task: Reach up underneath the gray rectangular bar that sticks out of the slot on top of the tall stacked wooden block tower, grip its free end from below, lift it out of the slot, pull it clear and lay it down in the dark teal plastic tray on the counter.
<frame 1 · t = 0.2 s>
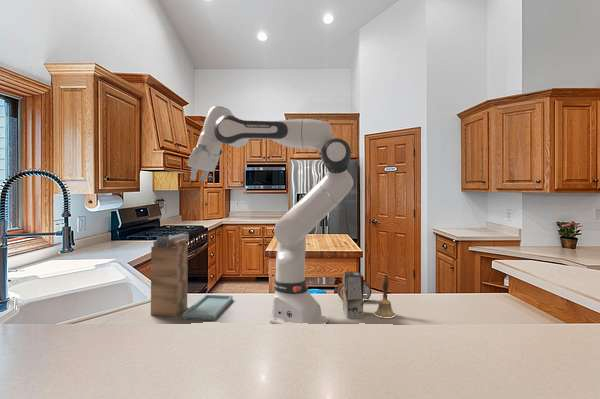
hand: (197, 180, 133), 52 cm above the countertop, tool tilted 20°, fingers open, 8 cm apart
hand bell: (384, 315, 134), on the countertop
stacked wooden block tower: (169, 311, 134), on the countertop
gray rectangular bar: (174, 244, 137), point 26 cm above the countertop, touching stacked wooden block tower
tray: (209, 308, 137), on the countertop
tin: (354, 301, 151), on the countertop
coffee box: (352, 315, 134), on the countertop
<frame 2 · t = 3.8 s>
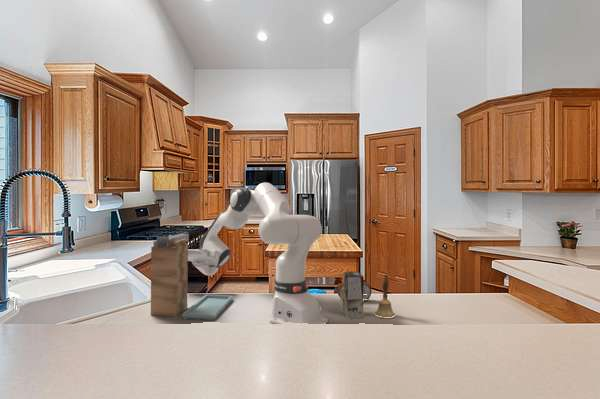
hand: (191, 249, 154), 21 cm above the countertop, tool pointing upward, fingers open, 8 cm apart
nothing on the countertop moved.
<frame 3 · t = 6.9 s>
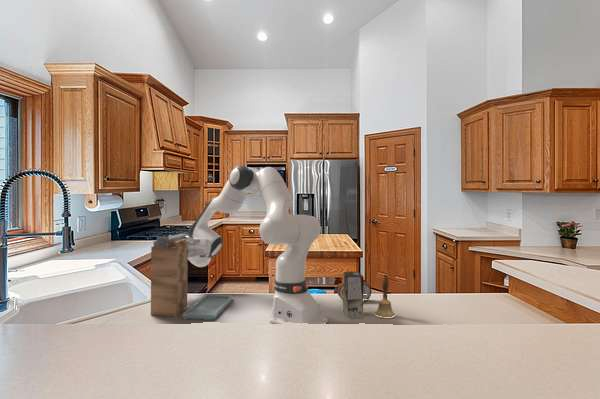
hand: (180, 237, 142), 28 cm above the countertop, tool pointing upward, fingers closed on gray rectangular bar, 3 cm apart
gray rectangular bar: (174, 243, 137), point 26 cm above the countertop, touching gripper, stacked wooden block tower
everything else where it was.
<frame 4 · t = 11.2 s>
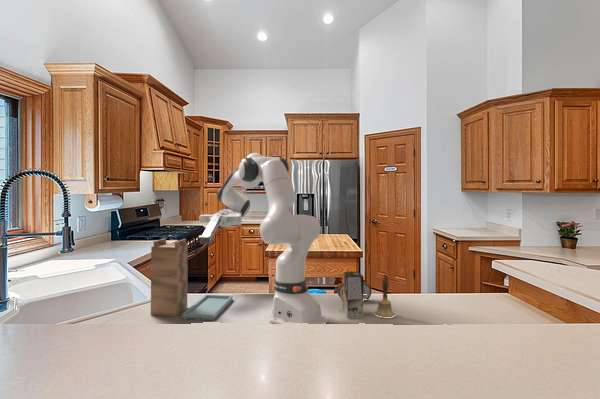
hand: (215, 220, 158), 34 cm above the countertop, tool horizontal, fingers closed on gray rectangular bar, 3 cm apart
gray rectangular bar: (212, 230, 154), point 30 cm above the countertop, tilted 30°, touching gripper
everything else where it was.
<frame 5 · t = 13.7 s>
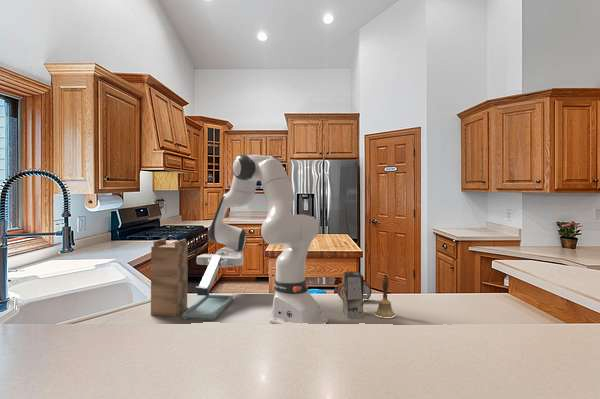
hand: (214, 263, 143), 17 cm above the countertop, tool horizontal, fingers closed on gray rectangular bar, 3 cm apart
gray rectangular bar: (211, 276, 139), point 12 cm above the countertop, tilted 30°, touching gripper
everything else where it was.
when the fingers open (7 cm above the countertop, at t = 15.8 s): gray rectangular bar drops 2 cm, resting on tray.
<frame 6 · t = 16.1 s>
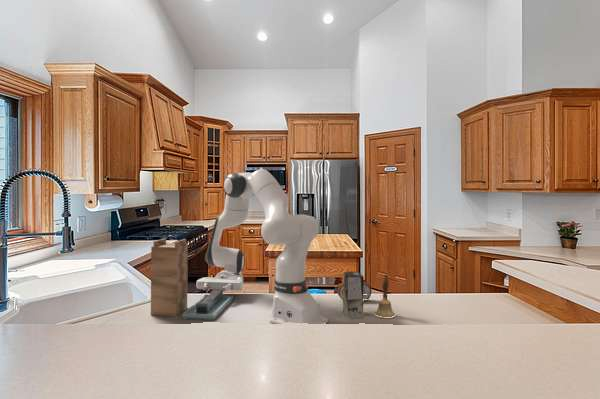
hand: (214, 288, 143), 7 cm above the countertop, tool horizontal, fingers open, 7 cm apart
gray rectangular bar: (210, 304, 139), point 1 cm above the countertop, touching tray
everything else where it was.
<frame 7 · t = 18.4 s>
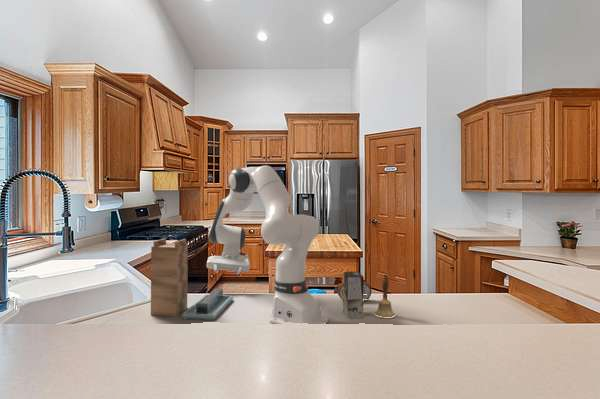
hand: (227, 272, 155), 11 cm above the countertop, tool tilted 75°, fingers open, 8 cm apart
nothing on the countertop moved.
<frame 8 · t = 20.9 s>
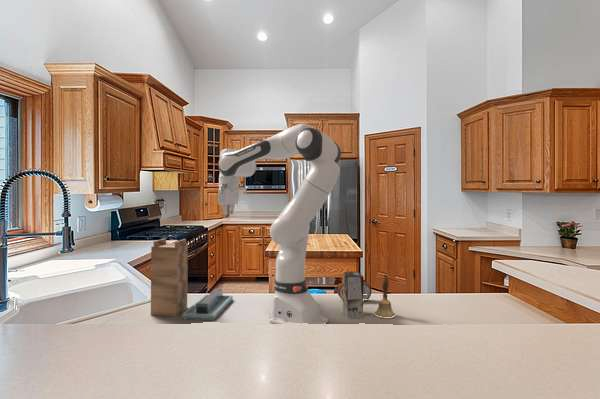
hand: (228, 214, 156), 37 cm above the countertop, tool pointing down, fingers open, 8 cm apart
nothing on the countertop moved.
at the end: gray rectangular bar inside the target area on the tray (1.6 cm from its centre), point 1.4 cm above the tray's base; gray rectangular bar touching tray; the gripper is holding nothing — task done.
